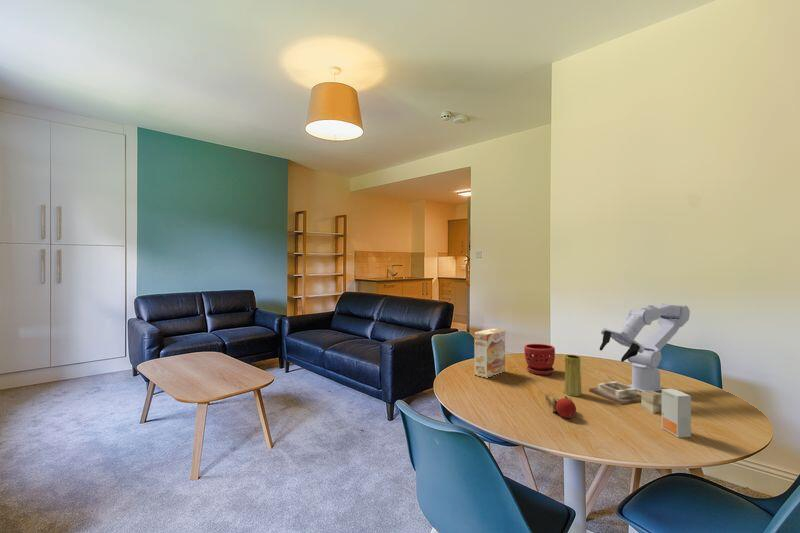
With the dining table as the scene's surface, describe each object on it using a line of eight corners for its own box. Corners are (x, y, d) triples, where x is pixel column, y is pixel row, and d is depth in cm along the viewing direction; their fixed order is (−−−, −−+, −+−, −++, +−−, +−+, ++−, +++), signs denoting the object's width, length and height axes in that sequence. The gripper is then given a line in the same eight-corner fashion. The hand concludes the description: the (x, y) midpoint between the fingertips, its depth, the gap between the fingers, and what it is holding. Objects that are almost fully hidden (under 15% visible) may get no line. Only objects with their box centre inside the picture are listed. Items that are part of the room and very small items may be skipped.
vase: (583, 397, 133) (583, 358, 133) (566, 396, 135) (566, 358, 134) (579, 391, 139) (578, 354, 139) (562, 390, 140) (562, 354, 140)
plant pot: (557, 370, 167) (557, 344, 167) (552, 378, 156) (552, 350, 156) (528, 366, 174) (527, 341, 174) (521, 373, 163) (521, 347, 163)
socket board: (612, 387, 143) (612, 378, 143) (646, 400, 130) (646, 390, 130) (589, 391, 139) (589, 382, 139) (621, 404, 126) (621, 394, 126)
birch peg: (649, 407, 124) (649, 390, 124) (661, 411, 120) (661, 394, 120) (641, 408, 122) (641, 391, 122) (652, 413, 119) (652, 395, 118)
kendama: (536, 403, 131) (555, 417, 113) (538, 385, 132) (558, 397, 114) (557, 407, 131) (580, 422, 113) (560, 390, 132) (582, 401, 114)
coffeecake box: (487, 379, 155) (487, 334, 154) (473, 375, 160) (473, 332, 160) (505, 372, 165) (505, 329, 164) (492, 368, 170) (492, 327, 170)
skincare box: (660, 428, 108) (660, 388, 108) (673, 427, 108) (673, 388, 108) (678, 438, 102) (678, 396, 102) (691, 437, 102) (692, 395, 102)
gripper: (611, 315, 139) (592, 337, 134) (652, 334, 130) (634, 358, 124) (608, 327, 144) (590, 348, 138) (648, 346, 134) (630, 370, 129)
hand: (611, 354), depth 132 cm, fingers open, 7 cm apart
